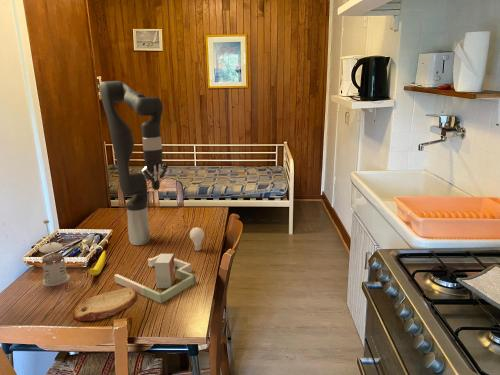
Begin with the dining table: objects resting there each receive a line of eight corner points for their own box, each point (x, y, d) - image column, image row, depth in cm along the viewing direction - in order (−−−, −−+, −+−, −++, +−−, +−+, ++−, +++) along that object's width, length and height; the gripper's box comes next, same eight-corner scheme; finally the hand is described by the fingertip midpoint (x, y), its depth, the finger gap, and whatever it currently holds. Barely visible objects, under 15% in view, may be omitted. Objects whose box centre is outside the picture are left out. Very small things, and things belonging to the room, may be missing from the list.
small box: (171, 288, 142) (169, 262, 139) (156, 288, 142) (154, 262, 139) (176, 277, 150) (174, 253, 147) (162, 277, 150) (159, 253, 147)
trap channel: (115, 282, 147) (114, 275, 146) (160, 259, 165) (160, 253, 164) (161, 303, 133) (160, 295, 132) (205, 276, 151) (205, 269, 150)
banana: (109, 260, 165) (108, 247, 163) (94, 283, 147) (92, 268, 145) (102, 261, 165) (101, 247, 163) (87, 283, 147) (84, 268, 145)
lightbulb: (207, 248, 175) (206, 226, 172) (201, 254, 170) (199, 231, 167) (194, 246, 177) (193, 224, 174) (188, 252, 172) (186, 229, 169)
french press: (42, 288, 144) (30, 226, 137) (42, 275, 154) (31, 216, 147) (70, 282, 148) (60, 221, 141) (69, 269, 158) (59, 212, 151)
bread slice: (140, 292, 140) (139, 283, 139) (123, 322, 123) (122, 312, 122) (91, 292, 141) (90, 283, 140) (68, 322, 124) (66, 312, 123)
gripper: (158, 144, 161) (162, 184, 166) (133, 149, 151) (137, 191, 156) (171, 146, 157) (174, 187, 162) (145, 151, 147) (149, 194, 151)
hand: (156, 189), depth 159 cm, fingers closed
